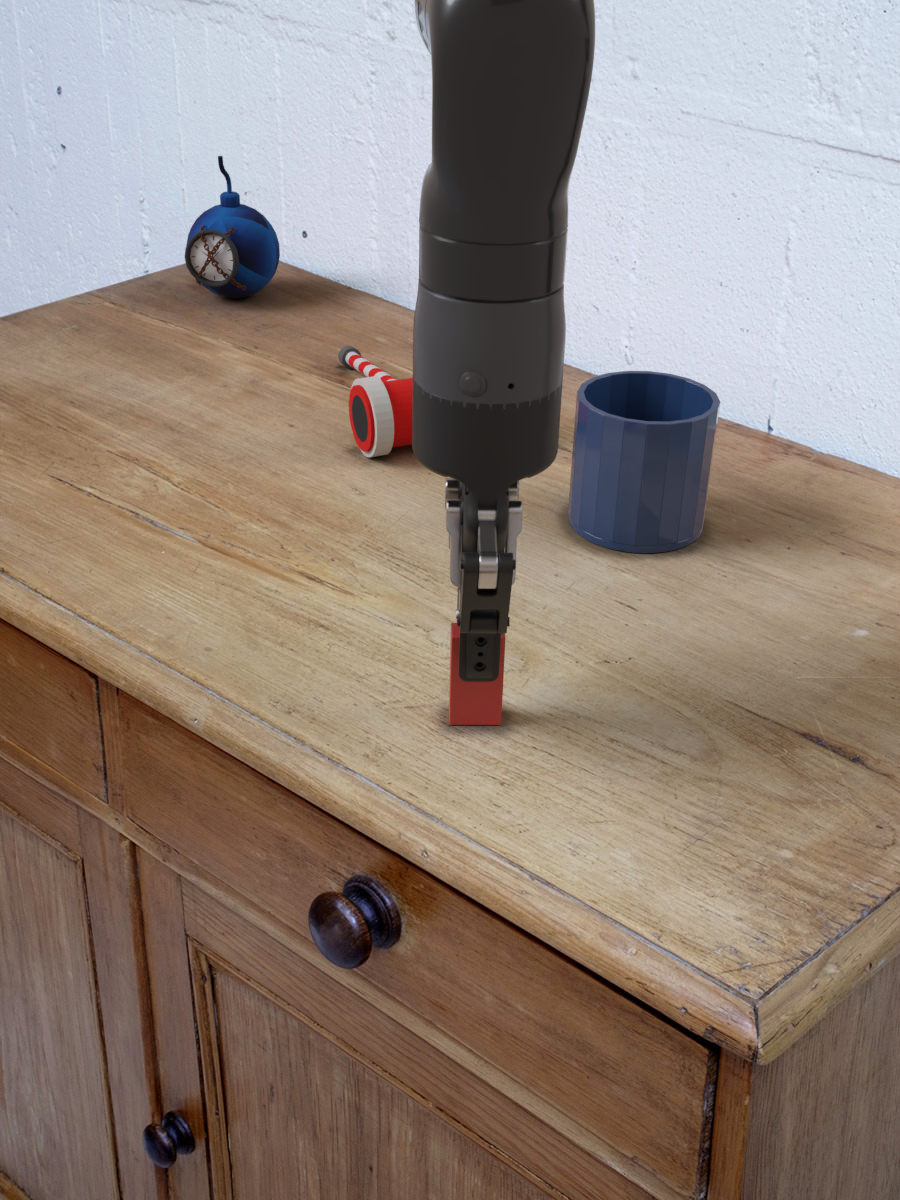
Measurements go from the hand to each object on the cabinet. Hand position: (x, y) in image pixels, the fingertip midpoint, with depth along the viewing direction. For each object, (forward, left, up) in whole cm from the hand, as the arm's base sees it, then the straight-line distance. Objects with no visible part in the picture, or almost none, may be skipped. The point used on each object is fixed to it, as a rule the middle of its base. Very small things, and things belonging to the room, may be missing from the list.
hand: (476, 657), depth 74 cm
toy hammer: (+5, -44, -4) cm, 44 cm away
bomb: (+23, -77, -4) cm, 80 cm away
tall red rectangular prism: (0, 0, -4) cm, 4 cm away
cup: (-13, -25, -4) cm, 28 cm away
